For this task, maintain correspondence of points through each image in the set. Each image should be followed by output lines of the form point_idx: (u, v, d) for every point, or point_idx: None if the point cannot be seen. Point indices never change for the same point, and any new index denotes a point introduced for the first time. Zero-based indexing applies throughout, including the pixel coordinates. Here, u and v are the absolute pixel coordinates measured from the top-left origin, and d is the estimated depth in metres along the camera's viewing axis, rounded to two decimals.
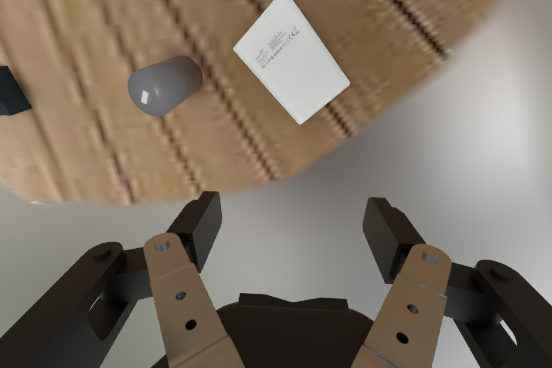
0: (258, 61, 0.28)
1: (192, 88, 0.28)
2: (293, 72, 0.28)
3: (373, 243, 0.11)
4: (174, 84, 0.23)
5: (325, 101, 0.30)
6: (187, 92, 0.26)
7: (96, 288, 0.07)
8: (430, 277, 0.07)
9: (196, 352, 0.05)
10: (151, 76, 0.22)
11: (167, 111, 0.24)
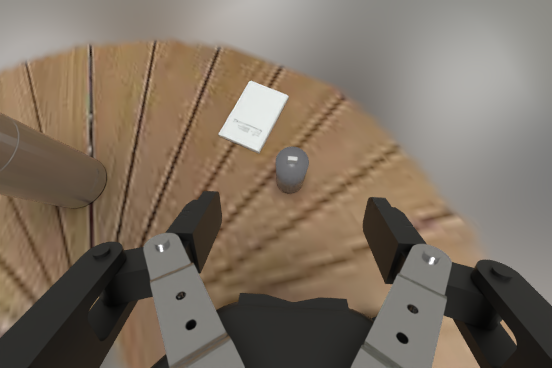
0: (259, 134, 0.41)
1: None
2: (256, 112, 0.42)
3: (373, 243, 0.11)
4: None
5: (265, 88, 0.44)
6: None
7: (96, 288, 0.07)
8: (430, 277, 0.07)
9: (196, 352, 0.05)
10: (279, 162, 0.31)
11: (300, 149, 0.32)
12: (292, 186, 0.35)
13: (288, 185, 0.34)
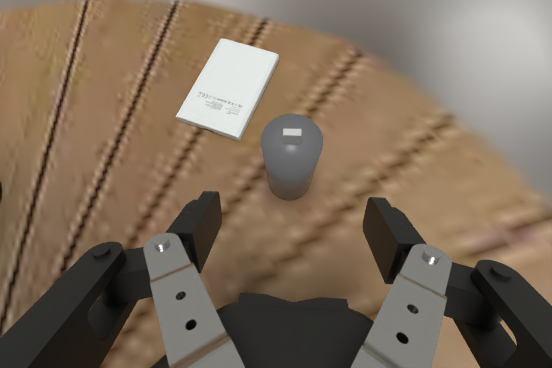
0: (237, 112, 0.27)
1: None
2: (232, 81, 0.28)
3: (373, 243, 0.11)
4: None
5: (244, 46, 0.30)
6: None
7: (96, 288, 0.07)
8: (429, 277, 0.07)
9: (196, 352, 0.05)
10: (268, 143, 0.17)
11: (305, 118, 0.17)
12: (294, 187, 0.20)
13: (287, 186, 0.20)
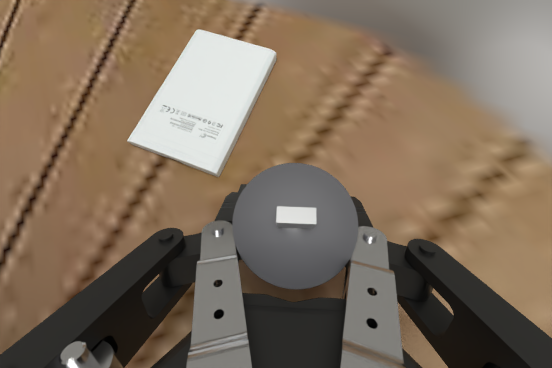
0: (216, 134, 0.19)
1: None
2: (210, 88, 0.20)
3: None
4: None
5: (228, 40, 0.21)
6: None
7: (153, 270, 0.08)
8: (374, 255, 0.08)
9: (196, 352, 0.05)
10: (247, 226, 0.08)
11: (320, 172, 0.09)
12: None
13: None
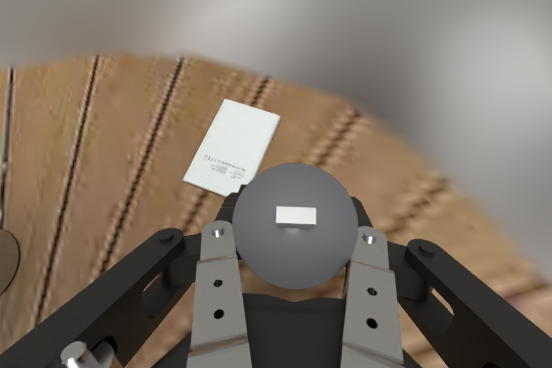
0: (241, 176, 0.28)
1: None
2: (236, 143, 0.30)
3: None
4: None
5: (247, 107, 0.31)
6: None
7: (153, 270, 0.08)
8: (374, 256, 0.08)
9: (196, 352, 0.05)
10: (247, 226, 0.08)
11: (320, 172, 0.09)
12: None
13: None
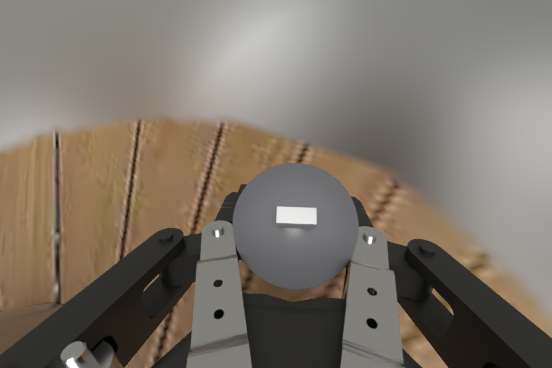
0: None
1: None
2: None
3: None
4: None
5: None
6: None
7: (153, 270, 0.08)
8: (374, 255, 0.08)
9: (196, 352, 0.05)
10: (247, 226, 0.08)
11: (321, 172, 0.09)
12: None
13: None
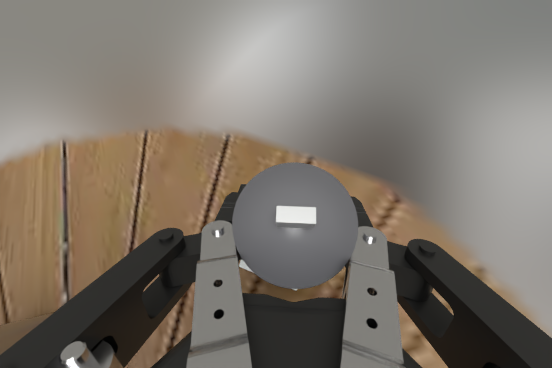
0: None
1: None
2: None
3: None
4: None
5: None
6: None
7: (153, 270, 0.08)
8: (374, 255, 0.08)
9: (196, 352, 0.05)
10: (246, 226, 0.08)
11: (320, 172, 0.09)
12: None
13: None
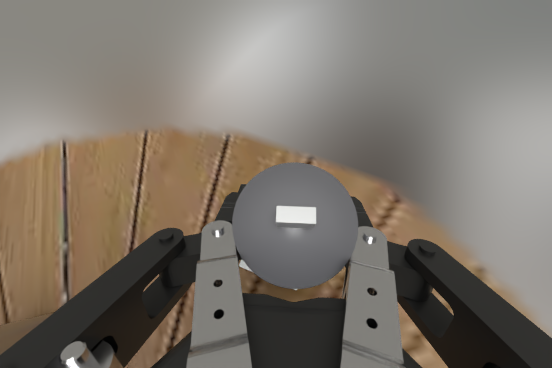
0: None
1: None
2: None
3: None
4: None
5: None
6: None
7: (153, 270, 0.08)
8: (374, 255, 0.08)
9: (196, 352, 0.05)
10: (246, 226, 0.08)
11: (320, 172, 0.09)
12: None
13: None
